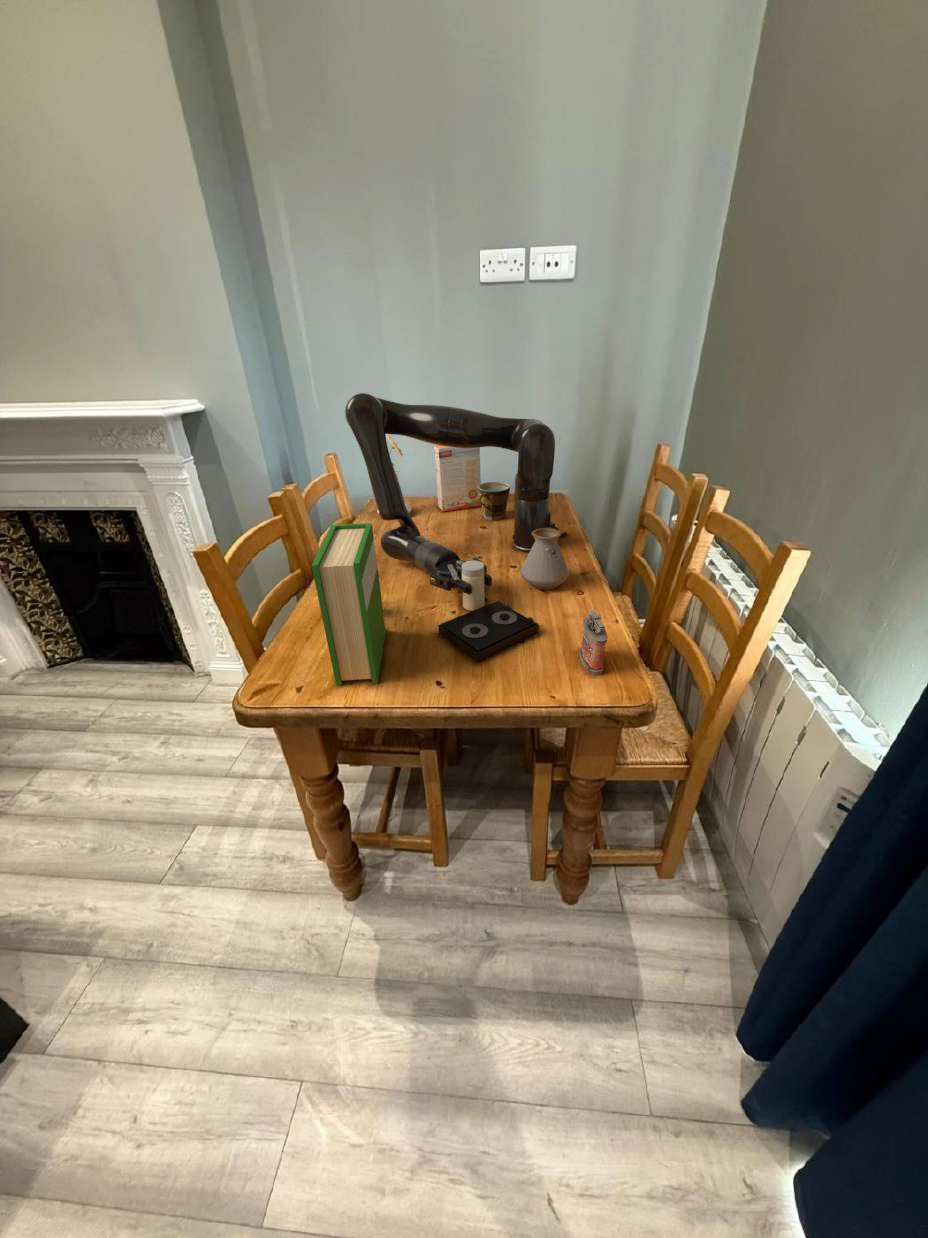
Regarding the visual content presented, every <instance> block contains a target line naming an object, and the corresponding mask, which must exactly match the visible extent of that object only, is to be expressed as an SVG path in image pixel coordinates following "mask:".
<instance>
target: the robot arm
mask: <svg viewBox="0 0 928 1238" xmlns="http://www.w3.org/2000/svg"><path fill="white" fill-rule="evenodd" d="M344 416H345V421H346V424H347V425H348V426H349V428H350V429H351V432H352V434H353V436H354V438H355V440H356V442H357V444H358V446H359V449H360V452H361V454H362V457H363V460H364V464H365V466H366V467H365V468H366V470H367V474H368V478H369V481H370V486H371V490H372V493H373V497H374V501H375V504H376V507H377V510H378V511H379V513H378V515H379V516H380V518H381V520H382V521H385V522H387V521H397V522H398V523H399V526H397V527H394V528H391V529H389V530H386V531H385V532H383V534H382V535H381V537H380V547H381V549H382V551H383V552H384V553H385V554H386V555H387V556H388V557H389V558H392V559H394V560H399V561H403V562H409V563H412V564H414V565H415V566H416V567H418V568H419V569H421V571H423V572H424V573H426V574H428V575H429V584H430V585H431V586H434V587H436V588H439V589H441V590H445V591H447V592H449V591H452V589H454V590H459V591H460V592H461V593H462V592H464V593H467V594H471V593H472V586H471V584H469V583H467V582H466V581H464V580H462V564H463V563H464V562H467V561H468V560H462V559H461V558H460V557H459V555H458V554H457V553H456V552H454V551H453V550H451V549H449V548H447V547H446V546H443V545H442V544H440V543H437V542H435V541H432V540H430V539H428V538H427V537H424V536H422V535H421V532H420V530H419V528H418V526H417V525H416V523H415V521H414V520H413V518H412V516H411V514H410V513H409V512H408V510H407V508H406V506H405V502H404V500H405V499H404V495H403V492H402V488H401V485H400V480H399V479H398V475H396V472H395V471H396V469H395V468H394V466H393V464H394V463H393V461H392V459H391V453H390V454H389V452H390V450H389V446H388V442H387V441H388V440H387V435H388V434H389V435H393V436H403V437H407V438H411V439H414V440H417V441H421V442H424V443H428V444H432V445H441V446H447V447H455V448H479V447H480V448H489V447H492V448H499V449H505V450H508V451H509V450H510V451H513V452H516V453H517V454H518V455H517V472H516V473H515V476H514V501H513V502H514V503H513V504H514V505H513V506H514V507H513V509H514V511H513V514H514V515H513V534H512V541H513V542H512V546H513V548H515V549H516V550H519V551H522V552H530V550H531V548H532V546H533V544H534V542H535V539H534V537H533V535H532V532H533V531H534V530H536V529H540V528H553V529H556V530H558V531H560V529H559V528H558V527H557V526H556V523H555V522H552V521H551V518H552V517H551V515H552V512H551V511H550V510H549V507H550V506H549V505H550V490H551V489H550V488H551V479H552V476H553V473H554V464H555V463H554V462H555V453H556V437H555V434H554V432H553V430H552V429H551V427H549V426H548V425H547V424H546V423H544V422H543V421H541V420H539V419H536V418H515V417H500V416H495V415H491V414H487V413H483V412H480V411H476V410H471V409H465V408H461V407H454V406H447V405H439V404H437V405H436V404H407V403H406V404H405V403H400V402H395V401H391V400H388V399H384V398H380V397H377V396H375V395H373V394H370V393H366V392H360V393H357V394H354V395H352V396H351V397H350V398H349V400H348V401H347V403H346V404H345V409H344ZM392 463H393V464H392ZM566 535H568V532H567V531H564V532H561V536H560V537H559V538H563V537H564V536H566ZM472 561H480V562H482V561H481V560H480V559H479V558H478V557H473V558H472ZM482 563H483V564H484V582H485V586H487V587H492V585H493V576H492V575H489V574H488V566H487V565H486V564H485V563H484V562H482Z"/></svg>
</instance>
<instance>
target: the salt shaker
mask: <svg viewBox="0 0 928 1238" xmlns="http://www.w3.org/2000/svg"><path fill="white" fill-rule="evenodd" d="M466 561H467V562H464V563H463V564H462V580H464V581H466V582H467V583H469V584H471V586H472V593H471V594H467V593H464V592H462V591H461V595H462V596H461V597H462V598H461V599H462V608H463V609H465V610H466V611H469V612H471V611H473V610H476V609H478V608H481V607H483V606H485V605H486V603H485V602H486V601H485V600H486V599H485V598H486V597H485V594H486V593H485V589H486V588H485V586H486V585H485V582H484V564H485V563H484V562H482V561H481V560H480V561H481V562H480V561H473V560H466ZM483 563H484V564H483Z"/></svg>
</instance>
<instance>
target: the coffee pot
mask: <svg viewBox="0 0 928 1238" xmlns="http://www.w3.org/2000/svg"><path fill="white" fill-rule="evenodd" d="M558 530H559V529H558ZM558 530H556V529H553V528H540V529H536V530H534V531H533V532H532V535H533V537H534V539H535V542H534V544H533V546H532V548H531V550H530V552H529V553H528V555H527V556H526V558H525V560H524V562H523V564H522V566H521V567H520V575H521V578H522V579H523V580H524V581H525V582H526V583H527V584H528V585H529V586H530V587H532V588H534V589H537V590H553V589H556V588H557V587H559V586H560V585H561V584H563V583H564V582H565V581H566V580H567V578H568V577H569V575H570V574H569V568H568V566H567V563H566V561H565V560H566V559H565V558H564V554H563V552H562V550H561V547H560V544H559V538H561V537H560V536H561V534H562V532H561V531H560V530H559V531H558Z"/></svg>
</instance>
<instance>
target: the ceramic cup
mask: <svg viewBox="0 0 928 1238" xmlns="http://www.w3.org/2000/svg"><path fill="white" fill-rule="evenodd" d="M478 489H479V495H480V498H479V501H480V503H481V508H482V514H483V517H484V519H485V520H488V521H500V520H503V519H504V518H505V517H506V512H507V507H508V501H509V497H510V492H511V485H510V484H509V483H506V482H502V481H489V482H483V483H481V485H479V486H478Z"/></svg>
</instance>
